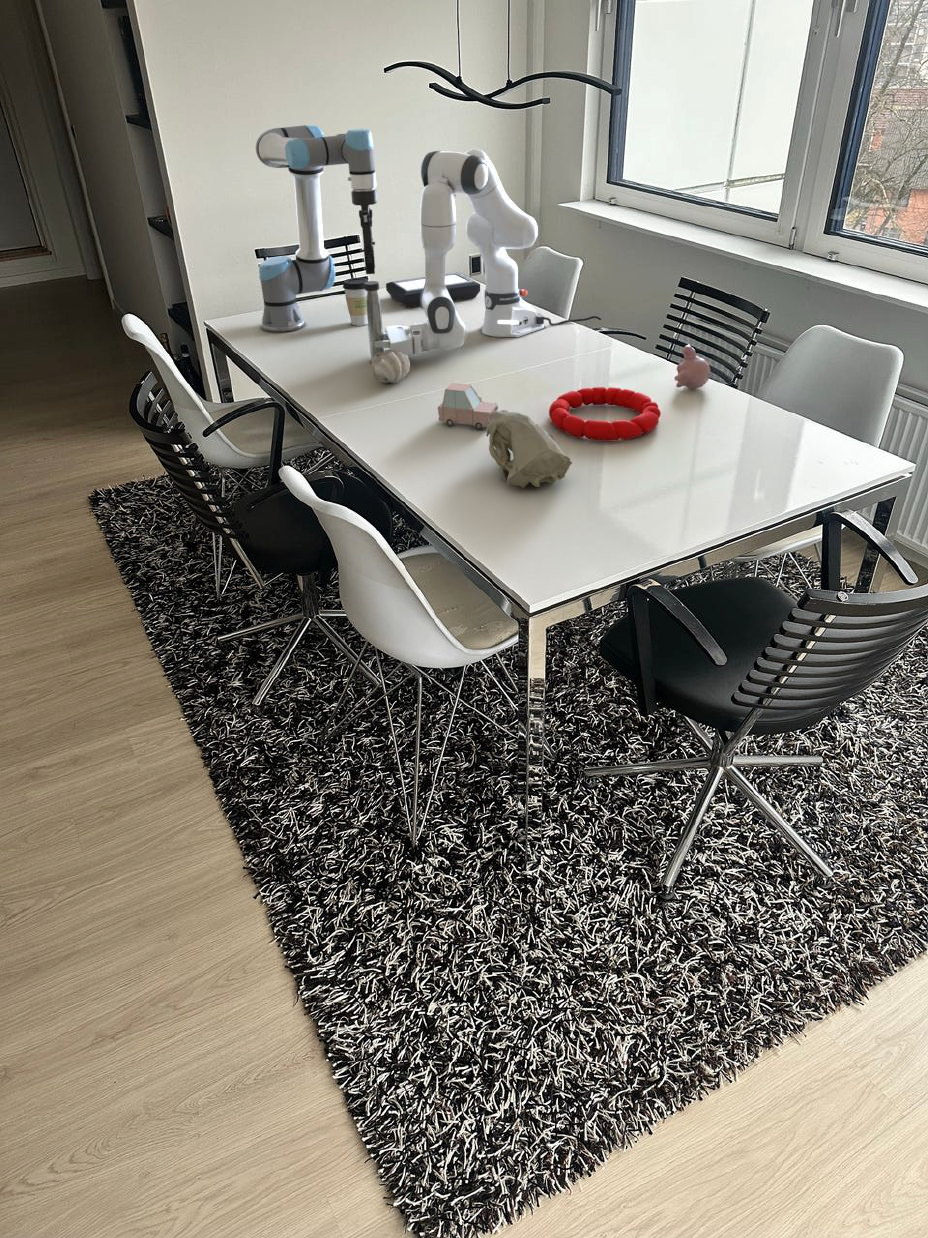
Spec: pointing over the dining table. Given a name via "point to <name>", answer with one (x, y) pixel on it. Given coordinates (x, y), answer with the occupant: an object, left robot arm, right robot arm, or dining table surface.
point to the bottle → (374, 322)
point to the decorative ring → (604, 428)
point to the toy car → (465, 406)
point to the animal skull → (525, 450)
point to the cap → (371, 286)
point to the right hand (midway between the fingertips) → (373, 341)
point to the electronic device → (412, 288)
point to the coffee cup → (356, 300)
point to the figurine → (692, 370)
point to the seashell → (390, 366)
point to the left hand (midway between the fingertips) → (370, 270)
